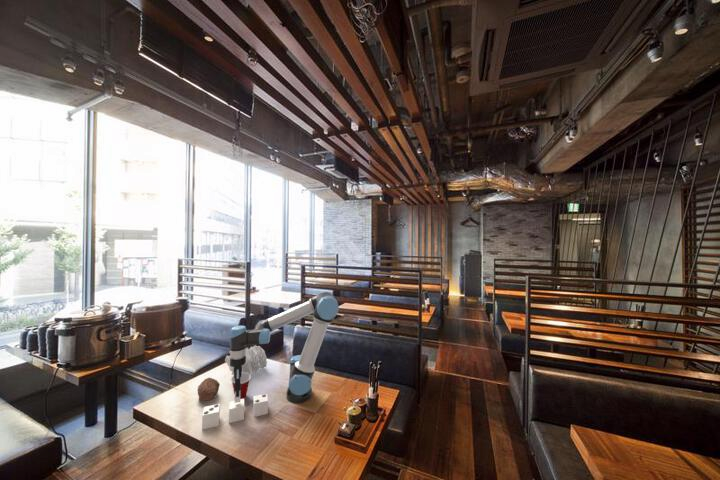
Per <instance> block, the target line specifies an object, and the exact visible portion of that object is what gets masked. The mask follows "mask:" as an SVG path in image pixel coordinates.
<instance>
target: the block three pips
mask: <svg viewBox="0 0 720 480" xmlns="http://www.w3.org/2000/svg"><path fill="white" fill-rule="evenodd" d="M220 405H221V404H220V403H216V404H212V405H207V406H204V407H203V410H202V415H201V416H202V418H201V419H202V420H201V430H207V429H210V428H214V427H218V426H219V424H220V410H221V409H220V408H221V407H220Z"/></svg>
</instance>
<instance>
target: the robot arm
mask: <svg viewBox="0 0 720 480" xmlns="http://www.w3.org/2000/svg"><path fill="white" fill-rule="evenodd" d="M339 308H340V307H339V303H338V300H337V299H336V297H335V296H334V295H333V294H332V293H331V292H326V291H325V292H320V293H319V294H317V295H314V296H312V297H310V298H309V300H307V301H304V302H303V303H300V304H298V305H296V306H294V307H292V308H289V309H287V310H285V311H283V312H280V313H278V314H276V315H273V316H272V317H269V318H266V319H262V320H261V319H260V320H259V321H258V322H257V323H256V324H255V326H254V329H247V327H246V326H245V325H235V326H232V328H231V329H230V332H229V333H230V334H229V335H230V336H229V341H230V342H229V344H230V346H229V347H230V348H229V350H230V351H228V353H229V355H230V366H232V367H234V378H235V389H233V392H234V391H235V395H234V401H235V403H238V402H240V390H241V388H240V387H242V385H241V386H240V384H241V383H240V377H241V372H242V365H244V364H245V363H246V356H245V355H246V348H247V346H250V345H253V346H255V345H265V344H269V343H270V340H271V333H272V332H274V331H276V330H278V329H280V328H282V327H284V326H287V325H289V324H292V323H293V322H296V321H298V320H300V319H302V318H304V317H307V316H309V315H311V314H312V317H313V321H312V324H311V327H310V330H309V333H308V335H307V338H306V341H305V343H304V346H303V348H302V352H301V354H298V355H293V356H292V357H291V358H290V360H289V378H288V387H287V390H286V395H285V396H286V399H287V400H288V402H290V403H295V404H297V403H299V404H300V403H305V402H306V401H308V400H310V399H311V398H312V397H313V387H312V379H313V377H314V373H315V370H316V367H315V363H316V360H317V357H318V355H319V352H320V348H321V346H322V344H323V341H324V339H325V334H326V333H327V329H328V327H329V325H330V324H332V323H333V321H334V319H335V317H336V316H337V315H338V313H339V310H340V309H339Z"/></svg>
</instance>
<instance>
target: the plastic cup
mask: <svg viewBox="0 0 720 480" xmlns="http://www.w3.org/2000/svg"><path fill="white" fill-rule="evenodd" d="M251 378H252V375H251V374H248V373H241V377H240V383H241V384H240V386H241V385H242V387H240V388H241V390H240V399H244V400H245V399H246V397H247V393H248V389H249V384H250V381H251ZM230 381H231V384H232V387H233V390H234V389H235V378H234V376H233V375H232V377H231V379H230ZM233 394H234V396H235V391H233Z"/></svg>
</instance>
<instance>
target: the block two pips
mask: <svg viewBox="0 0 720 480" xmlns="http://www.w3.org/2000/svg"><path fill="white" fill-rule="evenodd" d="M252 398H253V404H252V409H253V413H252V414H253V418H254V417H255V418H256V417H259V416H263V415H268V414H269V397H268V393H263V394H258V395H253V397H252Z"/></svg>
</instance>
